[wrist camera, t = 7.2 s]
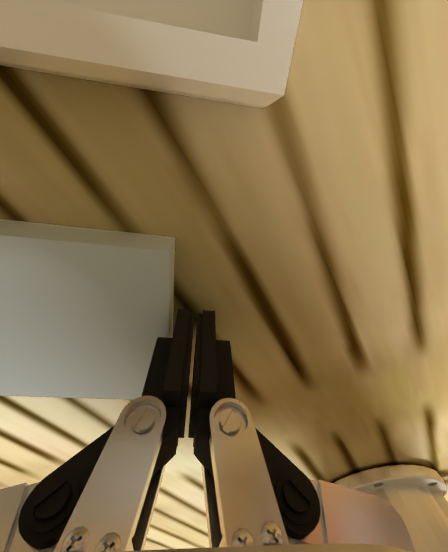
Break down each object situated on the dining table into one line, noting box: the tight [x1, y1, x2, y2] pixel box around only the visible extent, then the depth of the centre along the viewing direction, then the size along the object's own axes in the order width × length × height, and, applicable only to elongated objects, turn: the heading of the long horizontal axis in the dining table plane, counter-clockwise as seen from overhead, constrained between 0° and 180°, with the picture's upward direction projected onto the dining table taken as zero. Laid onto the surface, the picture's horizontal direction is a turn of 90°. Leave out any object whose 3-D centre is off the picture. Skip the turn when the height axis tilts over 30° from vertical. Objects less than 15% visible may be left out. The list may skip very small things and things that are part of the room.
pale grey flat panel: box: [0, 219, 175, 400], centre depth 11 cm, size 12×9×2 cm
